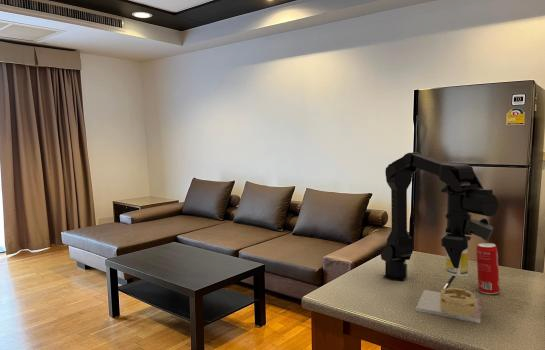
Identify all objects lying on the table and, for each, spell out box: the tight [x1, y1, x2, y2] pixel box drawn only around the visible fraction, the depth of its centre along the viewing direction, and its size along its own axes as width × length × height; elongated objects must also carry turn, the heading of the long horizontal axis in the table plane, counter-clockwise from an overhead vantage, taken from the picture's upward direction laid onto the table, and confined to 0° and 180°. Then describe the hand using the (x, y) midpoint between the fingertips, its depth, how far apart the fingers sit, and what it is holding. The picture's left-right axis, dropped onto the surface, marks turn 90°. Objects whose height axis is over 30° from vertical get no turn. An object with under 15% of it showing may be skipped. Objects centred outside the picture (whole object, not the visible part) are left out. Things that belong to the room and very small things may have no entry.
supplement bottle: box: [446, 249, 469, 277], centre depth 109 cm, size 5×5×10 cm
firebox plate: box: [415, 287, 483, 324], centre depth 111 cm, size 16×14×4 cm
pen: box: [442, 275, 456, 289], centre depth 129 cm, size 1×19×1 cm, turn 144°
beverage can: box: [475, 242, 500, 295], centre depth 121 cm, size 6×6×15 cm
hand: (457, 264), depth 109 cm, fingers closed on supplement bottle, 5 cm apart
